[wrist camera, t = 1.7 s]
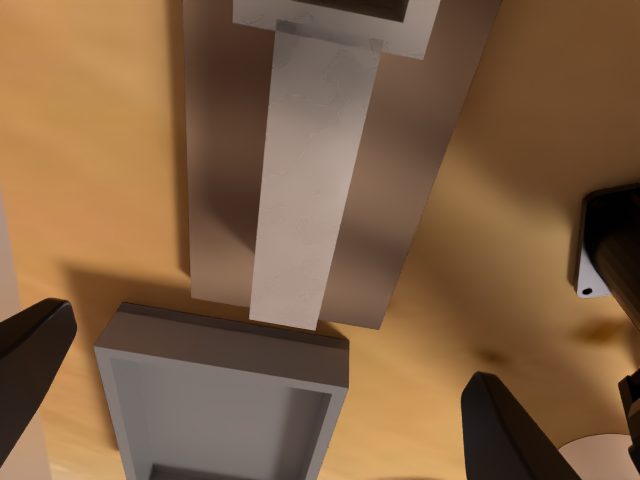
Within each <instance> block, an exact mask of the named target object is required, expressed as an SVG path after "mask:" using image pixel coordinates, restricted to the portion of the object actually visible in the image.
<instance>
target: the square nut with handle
mask: <svg viewBox="0 0 640 480" xmlns="http://www.w3.org/2000/svg"><path fill="white" fill-rule="evenodd" d="M440 1H441V0H394V2H393V6H392V7H389V6H384V5H379V4H374V3H370V2H365V1H360V0H233V23H237V24H243V25H248V26H253V27H258V28H263V29H268V30H273V31H275V42H274V52H273V63H272V74H271V85H270V96H269V107H268V118H267V129H266V140H265V151H264V162H263V173H262V184H261V195H260V206H259V216H258V227H257V238H256V249H255V260H254V271H253V282H252V293H251V304H250V315H249V319H250V320H256V321H262V322H268V323H274V324H280V325H285V326H291V327H297V328H303V329H309V330H316V326H317V321H318V317H319V313H320V309H321V305H322V300H323V296H324V292H325V288H326V283H327V279H328V275H329V271H330V266H331V262H332V258H333V254H334V250H335V245H336V241H337V237H338V233H339V228H340V224H341V220H342V216H343V211H344V207H345V203H346V199H347V195H348V190H349V186H350V182H351V178H352V173H353V169H354V165H355V161H356V156H357V152H358V148H359V144H360V140H361V135H362V131H363V127H364V123H365V118H366V114H367V110H368V106H369V101H370V97H371V93H372V89H373V85H374V80H375V76H376V72H377V68H378V63H379V59H380V55H381V52H384V53H389V54H395V55H400V56H405V57H410V58H415V59H420V60H423V58H424V55H425V51H426V48H427V45H428V41H429V38H430V35H431V31H432V28H433V24H434V21H435V18H436V14H437V11H438V7H439V4H440Z"/></svg>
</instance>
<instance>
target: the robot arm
mask: <svg viewBox="0 0 640 480" xmlns="http://www.w3.org/2000/svg"><path fill="white" fill-rule="evenodd" d="M597 200H600V201H599V202H598V203H597V204H594V205H593V203H594V202H595V201H597ZM586 288H587V289H586ZM584 289H585V290H584ZM574 291H575V292H576V294H577V295H578V296H579V297H580V298H592V297H599V296H607V295H613V297H614V298H615V299H616V301H617V302H618V303H619V305H620V306H621V307H622V309H623V310H624V311H625V313H626V314H627V315H628V317H629V318H630V319H631V321H632V322H633V323H634V324H635V326H636V327H637V328H638V330H639V331H640V183H635V184H630V185H625V186H619V187H614V188H608V189H603V190H597V191H593V192H591V193H589V194H588V195H586V196H585V198H584V199H583V202H582V212H581V222H580V232H579V242H578V252H577V262H576V271H575V281H574ZM76 332H77V324H76V320H75V317H74V313H73V309H72V306H71V303H70V302H69V301H67V300H63V299H57V298H47V299H44V300H42V301H40V302H38V303H36V304H34V305H33V306H31V307H29V308H27V309H25V310H23V311H21V312H19V313H17V314H16V315H14V316H12V317H10V318H8V319H6V320H4V321H2V322H0V468H1V466H2V465H3V463H4V462H5V460H6V458H7V457H8V455H9V454H10V452H11V450H12V449H13V447H14V446H15V444H16V443H17V441H18V439H19V438H20V436H21V434H22V433H23V432H24V430H25V428H26V427H27V425H28V424H29V422H30V421H31V419H32V417H33V416H34V414H35V413H36V411H37V409H38V408H39V406H40V404H41V403H42V401H43V399H44V397H45V395H46V394H47V392H48V390H49V388H50V386H51V384H52V382H53V380H54V378H55V376H56V374H57V372H58V370H59V368H60V366H61V364H62V362H63V360H64V358H65V356H66V354H67V352H68V350H69V348H70V346H71V344H72V342H73V340H74V338H75V335H76ZM618 387H619V391H620V395H621V399H622V403H623V407H624V411H625V415H626V420H627V424H628V428H629V432H630V436H631V441H632V445H631V446H629V448H628V453H629V456H630V459H631V461H632V463H633V464H634V466H635V468H636V470H637V472H638V474H639V476H640V368H639V369H638V370H637V371H636V372H635V373H633V374H632V375H631V376H628V375H627V376H626V377H625V378H624V379H622V380H621V381H620V382H619V383H618ZM461 412H462V427H463V442H464V456H465V468H466V476H467V480H582V479H581V478H580V476H579V475H578V474H577V473H576V472H575V470H574V469H573V468H572V467H571V465H570V464H569V463H568V462H567V461H566V459H565V458H564V457H563V456H562V454H561V453H560V452H559V451H558V450H557V448H556V447H555V446H554V445H553V443H552V442H551V441H550V440H549V439H548V437H547V436H546V435H545V434H544V432H543V431H542V430H541V429H540V428H539V426H538V425H537V424H536V423H535V422H534V420H533V419H532V418H531V417H530V415H529V414H528V413H527V412H526V411H525V409H524V408H523V407H522V406H521V404H520V403H519V402H518V401H517V400H516V398H515V397H514V396H513V395H512V393H511V392H510V391H509V390H508V389H507V387H506V386H505V385H504V384H503V382H502V381H501V380H500V379H499V378H498V377H497V376H496V375H495V374H492V373H487V372H481V371H477V372H476V373H474V374H473V376H472V378H471V379H470V381H469V382H468V384H467V385H466V387H465V389H464V390H463V392H462V395H461Z"/></svg>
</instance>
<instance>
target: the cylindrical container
mask: <svg viewBox="0 0 640 480" xmlns="http://www.w3.org/2000/svg"><path fill="white" fill-rule="evenodd" d="M631 445H632V441H631V436H629V435H622V434H602V435H594V436H589V437H584V438H581V439H577V440H575V441H572V442H570V443H568V444H566V445H564V446H562V447H561V448H560V449H558V451H559V452H560V453H561V454H562V456H563V457H564V458H565V459H566V461H567V462H568V463H569V464H570V465H571V467H572V468H573V469H574V470H575V472H576V473H577V474H578V475H579V476H580V478H581V479H582V480H640V476H639V474H638V472H637V470H636V468H635V466H634V464H633V463H632V461H631V459H630V456H629V453H628V448H629V446H631Z"/></svg>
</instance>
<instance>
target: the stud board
mask: <svg viewBox="0 0 640 480" xmlns="http://www.w3.org/2000/svg"><path fill="white" fill-rule="evenodd" d="M360 1H365V2H370V3H374V4H379V5H384V6H389V7H392V6H393V2H394V0H360ZM501 1H502V0H441V1H440V4H439V7H438V11H437V14H436V18H435V21H434V24H433V28H432V31H431V35H430V38H429V41H428V45H427V48H426V51H425V55H424V58H423V60H420V59H415V58H410V57H405V56H400V55H395V54H389V53H384V52H381V55H380V59H379V63H378V68H377V72H376V76H375V80H374V85H373V89H372V93H371V97H370V101H369V106H368V110H367V114H366V118H365V123H364V127H363V131H362V135H361V140H360V144H359V148H358V152H357V156H356V161H355V165H354V169H353V173H352V178H351V182H350V186H349V190H348V195H347V199H346V203H345V207H344V211H343V216H342V220H341V224H340V228H339V233H338V237H337V241H336V245H335V250H334V254H333V258H332V262H331V266H330V271H329V275H328V279H327V283H326V288H325V292H324V296H323V300H322V305H321V309H320V313H319V317H318V320H324V321H329V322H335V323H341V324H347V325H353V326H359V327H365V328H370V329H376V330H379V329H380V326H381V323H382V321H383V318H384V315H385V313H386V310H387V307H388V304H389V302H390V299H391V296H392V294H393V291H394V288H395V286H396V283H397V280H398V278H399V275H400V272H401V270H402V267H403V264H404V262H405V259H406V256H407V254H408V251H409V248H410V245H411V243H412V240H413V237H414V235H415V232H416V229H417V227H418V224H419V221H420V219H421V216H422V213H423V211H424V208H425V205H426V203H427V200H428V197H429V195H430V192H431V189H432V186H433V184H434V181H435V178H436V176H437V173H438V170H439V168H440V165H441V162H442V160H443V157H444V154H445V152H446V149H447V146H448V144H449V141H450V138H451V136H452V133H453V130H454V128H455V125H456V122H457V119H458V117H459V114H460V111H461V109H462V106H463V103H464V101H465V98H466V95H467V93H468V90H469V87H470V85H471V82H472V79H473V77H474V74H475V71H476V69H477V66H478V63H479V60H480V58H481V55H482V52H483V50H484V47H485V44H486V42H487V39H488V36H489V34H490V31H491V28H492V26H493V23H494V20H495V18H496V15H497V12H498V10H499V7H500V4H501ZM183 34H184V69H185V103H186V137H187V172H188V206H189V241H190V275H191V298H195V299H201V300H207V301H212V302H218V303H224V304H230V305H236V306H242V307H248V308H250V304H251V293H252V282H253V271H254V260H255V249H256V238H257V227H258V216H259V206H260V195H261V184H262V173H263V162H264V151H265V140H266V129H267V118H268V107H269V96H270V85H271V74H272V63H273V52H274V42H275V31H273V30H268V29H263V28H258V27H253V26H248V25H243V24H237V23H233V0H183Z"/></svg>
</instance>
